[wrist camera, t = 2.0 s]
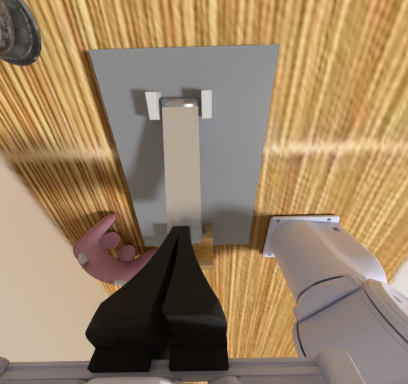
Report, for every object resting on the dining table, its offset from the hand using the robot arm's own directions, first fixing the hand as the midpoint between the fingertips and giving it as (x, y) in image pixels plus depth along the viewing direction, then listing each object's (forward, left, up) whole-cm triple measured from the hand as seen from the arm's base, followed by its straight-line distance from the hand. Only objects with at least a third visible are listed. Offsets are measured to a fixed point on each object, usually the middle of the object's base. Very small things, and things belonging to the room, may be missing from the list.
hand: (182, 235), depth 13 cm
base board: (0, -2, -8) cm, 9 cm away
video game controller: (+10, +9, -9) cm, 16 cm away
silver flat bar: (0, -4, -4) cm, 5 cm away
